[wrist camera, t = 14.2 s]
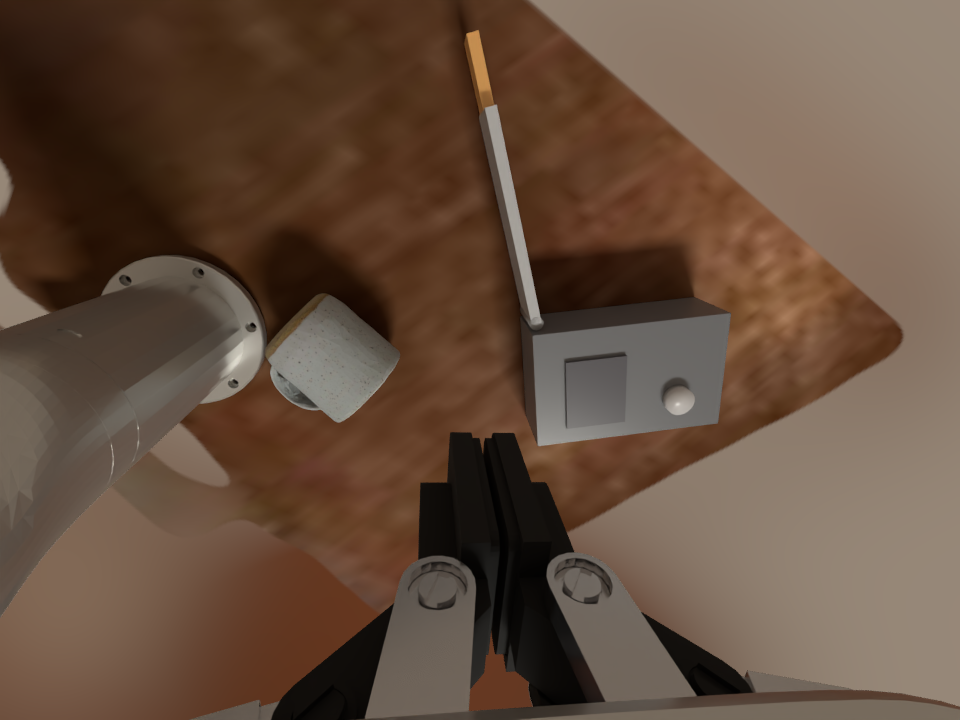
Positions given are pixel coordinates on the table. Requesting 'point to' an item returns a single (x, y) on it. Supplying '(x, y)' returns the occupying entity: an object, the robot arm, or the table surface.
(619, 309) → the grey control box
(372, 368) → the ceramic mug
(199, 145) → the table surface
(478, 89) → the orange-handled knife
